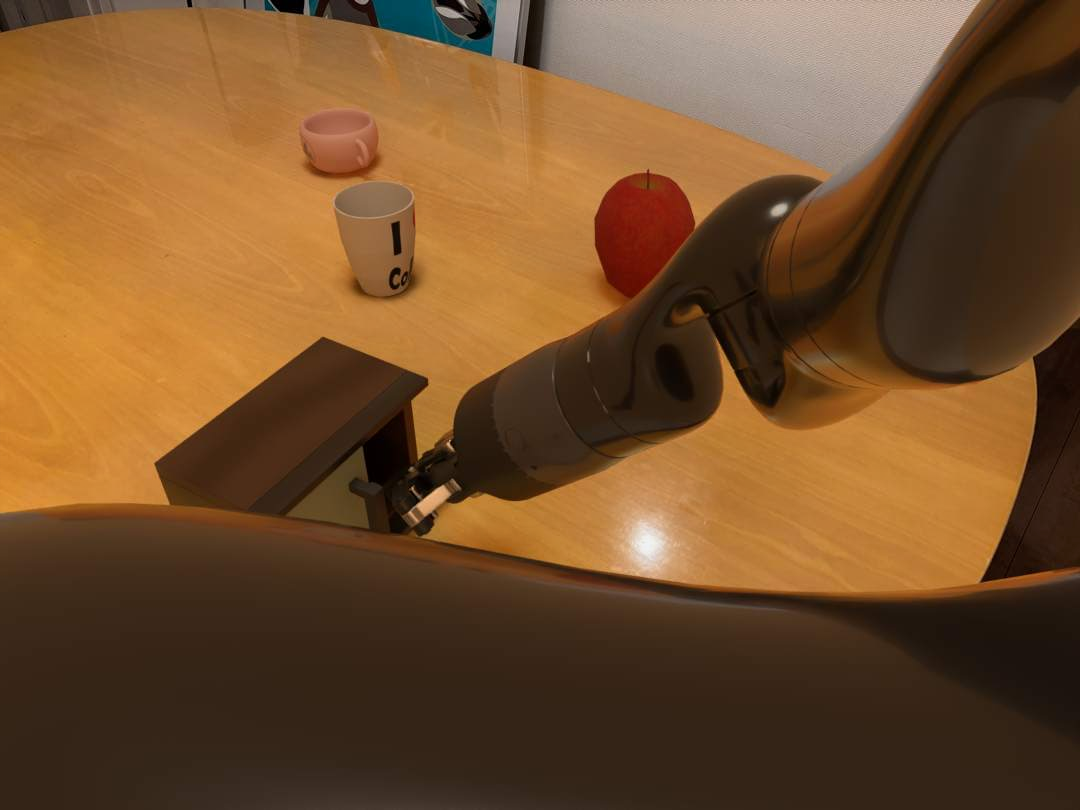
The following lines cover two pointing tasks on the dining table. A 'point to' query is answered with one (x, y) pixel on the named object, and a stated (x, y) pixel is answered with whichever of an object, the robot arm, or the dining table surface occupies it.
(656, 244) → the apple
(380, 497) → the door
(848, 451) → the dining table surface
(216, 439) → the cabinet
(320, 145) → the mug
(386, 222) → the cup
